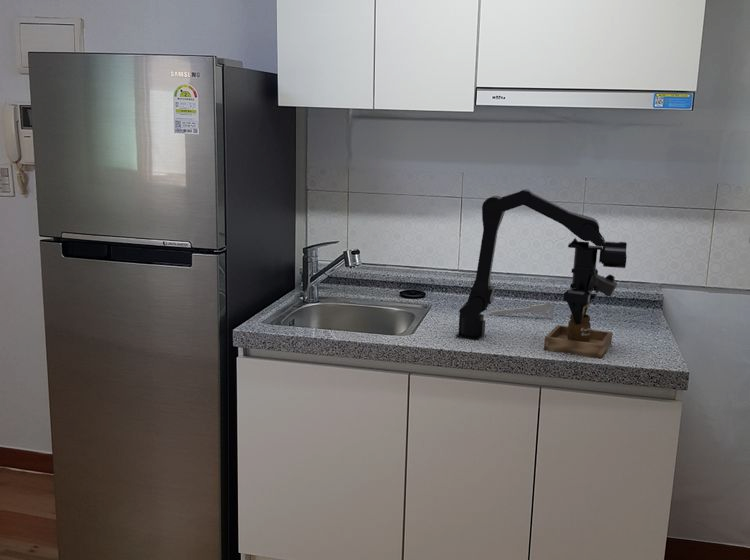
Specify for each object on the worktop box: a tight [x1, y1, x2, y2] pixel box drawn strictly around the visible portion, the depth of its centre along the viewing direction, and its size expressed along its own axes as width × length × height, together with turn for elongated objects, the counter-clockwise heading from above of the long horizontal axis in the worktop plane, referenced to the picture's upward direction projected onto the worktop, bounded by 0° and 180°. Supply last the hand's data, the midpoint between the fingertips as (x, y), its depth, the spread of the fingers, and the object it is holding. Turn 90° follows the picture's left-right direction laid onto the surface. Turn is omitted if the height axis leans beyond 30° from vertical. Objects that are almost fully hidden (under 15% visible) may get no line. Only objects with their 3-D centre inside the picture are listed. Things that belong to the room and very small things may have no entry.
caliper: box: [487, 299, 555, 320], centre depth 230 cm, size 20×1×6 cm, turn 79°
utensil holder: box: [567, 304, 592, 342], centre depth 197 cm, size 6×6×12 cm
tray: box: [543, 324, 613, 359], centre depth 198 cm, size 15×15×4 cm
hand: (579, 322), depth 197 cm, fingers closed on utensil holder, 5 cm apart
